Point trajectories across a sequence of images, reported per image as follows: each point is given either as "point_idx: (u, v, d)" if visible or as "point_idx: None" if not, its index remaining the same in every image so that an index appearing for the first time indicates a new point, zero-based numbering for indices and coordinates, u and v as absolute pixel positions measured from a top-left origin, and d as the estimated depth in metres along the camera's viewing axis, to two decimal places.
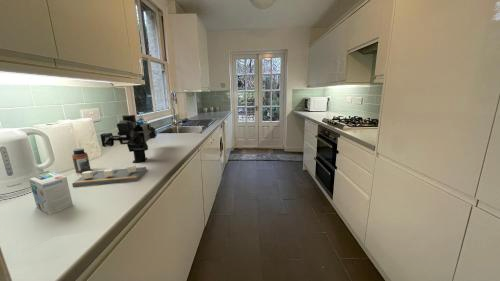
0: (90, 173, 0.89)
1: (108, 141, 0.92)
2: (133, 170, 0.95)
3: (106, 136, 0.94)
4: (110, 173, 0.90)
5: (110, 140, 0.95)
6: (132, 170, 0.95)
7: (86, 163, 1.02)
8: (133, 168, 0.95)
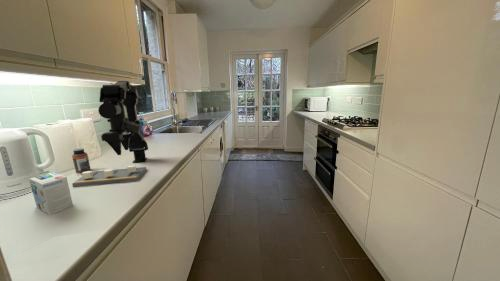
0: (90, 173, 0.89)
1: None
2: (133, 170, 0.95)
3: (121, 141, 0.81)
4: (110, 173, 0.90)
5: None
6: (132, 170, 0.95)
7: (86, 163, 1.02)
8: (133, 168, 0.95)
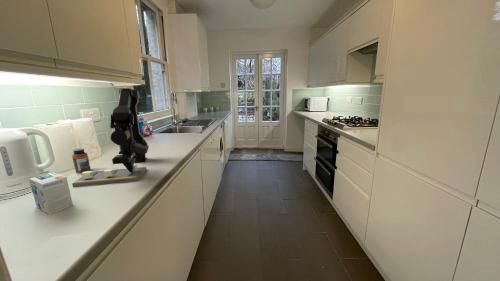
0: (90, 173, 0.89)
1: None
2: (134, 169, 0.96)
3: (132, 160, 0.92)
4: (110, 173, 0.90)
5: None
6: (133, 169, 0.96)
7: (86, 163, 1.02)
8: (134, 167, 0.96)
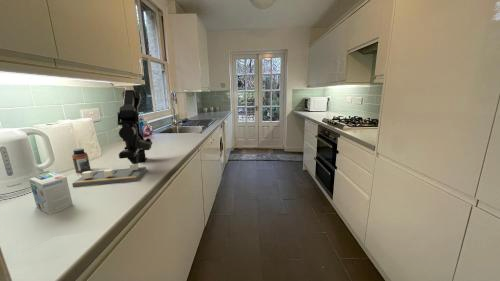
0: (90, 173, 0.89)
1: None
2: (135, 167, 0.98)
3: (137, 155, 0.98)
4: (110, 173, 0.90)
5: None
6: (134, 168, 0.98)
7: (86, 163, 1.02)
8: (135, 166, 0.97)
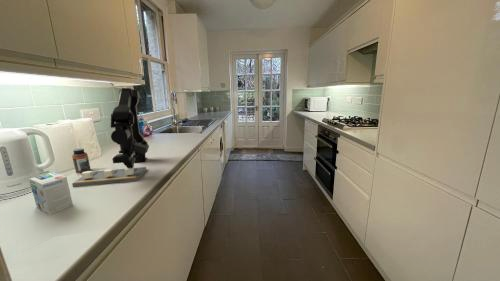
0: (90, 173, 0.89)
1: None
2: (131, 172, 0.92)
3: (133, 159, 0.92)
4: (110, 173, 0.90)
5: None
6: (130, 173, 0.92)
7: (86, 163, 1.02)
8: (131, 170, 0.92)
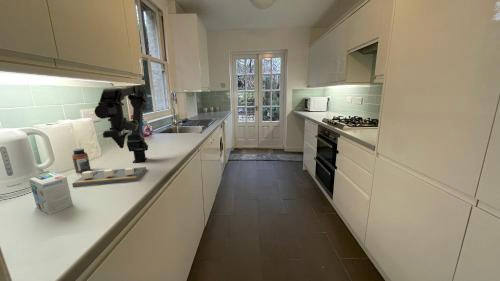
0: (90, 173, 0.89)
1: None
2: (131, 172, 0.92)
3: (123, 136, 0.96)
4: (110, 173, 0.90)
5: None
6: (130, 172, 0.92)
7: (86, 163, 1.02)
8: (131, 170, 0.92)
